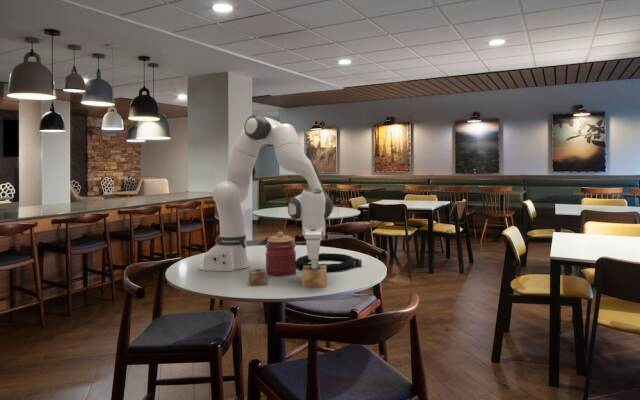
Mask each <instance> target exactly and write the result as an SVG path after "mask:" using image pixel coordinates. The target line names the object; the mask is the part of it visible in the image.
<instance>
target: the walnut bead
mask: <svg viewBox="0 0 640 400" xmlns="http://www.w3.org/2000/svg"><path fill="white" fill-rule="evenodd" d="M248 281H249V282H248V283H249V285H251V287H255V286H264V285H265V286H266V285H267V286H268V274H267V271H266V268H255V269H249V270H248Z"/></svg>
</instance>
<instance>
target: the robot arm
mask: <svg viewBox="0 0 640 400" xmlns="http://www.w3.org/2000/svg"><path fill="white" fill-rule="evenodd" d="M243 127H244V128H243V129H242V130H241V131H240V134H239V135H238V137H237V139H236V142H235V143H234V146H233V150H232V151H231V154H230V158H229V160H228V163H227V168H228V169H227V177H226V180H225V181H221V182H219V183H218V184H217V185H216V186H215V187H214V188H213V190H212V193H211V195H212V200H214V202H215V205H216V210H217V214H218V215H217V216H218V220H219V235H217V236H216V237H215V240H214V242H215V245H214V246H212V247H211V248H210V249H208V251H207V252H206V253H205V254H204V255H203V262H202V263H201V264H198V268H197V269H198V270H200V271H213V272H214V271H215V272H216V271H217V272H219V271H220V272H231V271H232V272H233V271H236V270H242V269H246V268H249V266H250V263H249V259H248V256H247V255H248V254H247V249H246V248H247V235H246V231H245V230H246V229H245V228H246V227H245V226H246V225H245V217H244V215H243V209H242V207H241V203H242V202H244V201H245V200H246V199H247V198H248V196H249V188H250V184H251V179H252V178H251V177H252V173H253V170H254V167H255V164H256V161H257V159H258V156H259V152H260V150H261V148H262V147H263V146H265V145H266V146H267V147H273V149H274V153H275V158H276V160H277V164H278V165H279V166H280V167H282V169H283V170H285V171H287V172H292V173H295V174H297V175H299V176H301V177H303V178H304V179H305V180H306V182H307V184H308V187H307V188H304V189H303V190H302V192H301V193H300V194H298V195H296V196H293V197H291V198H290V199H289V201H288V204H287V213H288V215H289V216H290V218H291V219H293V220H294V221H302V224H301V225H302V226H301V227H302V228H301V230H302V231H301V233H302V237H303V238H304V240H305V243H306V251H307V252H306V253H307V255H308V259H309V260H311V262H312V268H316V267H317V259H318V257H319V254H320V247H321V241H323V238H324V237H325V236H326V220H327V219H328V218H329V217H330V216H331V214H332V213H333V210H334V206H333V205H334V204H333V201H332V199H331V198H330V196H329V194H328V193H327V191H326V188H325V186H324V184H323V181H322V179H321V177H320V175H319V173H318V170H317V168H316V166H315V163H314V162H313V161H312V160H311V159H310V158H308V156H307V155H306V153H304V150H303V148H302V144H301V141H300V138H299V135H298V133H297V131H296V129H295V127H294V126H293V125H292V124H291V123H283V122H280V121H278V120H276V119H273V118H270V117H266V116H263V115H260V114H251V115H250V116H249V117H248V118H247V119H246V120H245V123H244V126H243ZM311 262H310V263H311Z"/></svg>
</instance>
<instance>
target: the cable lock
mask: <svg viewBox="0 0 640 400" xmlns="http://www.w3.org/2000/svg"><path fill="white" fill-rule="evenodd" d="M322 260H324V262H325V261H331V260H332V262H333V261H334V262H339V263H321V264H320V263H318V266H324V265H326V270H327V273H333V272H334V273H337V272H344V271H348V270H350V269H355V268H362V259H361V258H360V259H359V258H356V257H353V256H351V255H347V254H345V253H319V257H318V262H319V261H321V262H322ZM341 261H342V262H341ZM303 266H311V260H309V259H308V254H305V255H303V256H299V257H298V258H296V269H297V268H298V270H301V271H302V270H303ZM343 270H344V271H343Z"/></svg>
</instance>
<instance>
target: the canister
mask: <svg viewBox="0 0 640 400" xmlns="http://www.w3.org/2000/svg"><path fill="white" fill-rule="evenodd" d="M294 240H295V239H294V238H293V237H291V235H285V234H284V232H283V231H282V230H281V231H280V230H279V231H277V234H276V235H272V236H270V237H269V238H267V239H266V241H267V243H266V244H265V245H264V247H265V248H266V251H265V253H264V254H265V270H266V271H267V275H271V276H276V277H277V276H280V277H281V276H289V275H293V274H295V273H296V272H297V267H296V261H297V257H296V255H297V251H296V250H295V247H296V246H297V244H296V243H295V242H294Z"/></svg>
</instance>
